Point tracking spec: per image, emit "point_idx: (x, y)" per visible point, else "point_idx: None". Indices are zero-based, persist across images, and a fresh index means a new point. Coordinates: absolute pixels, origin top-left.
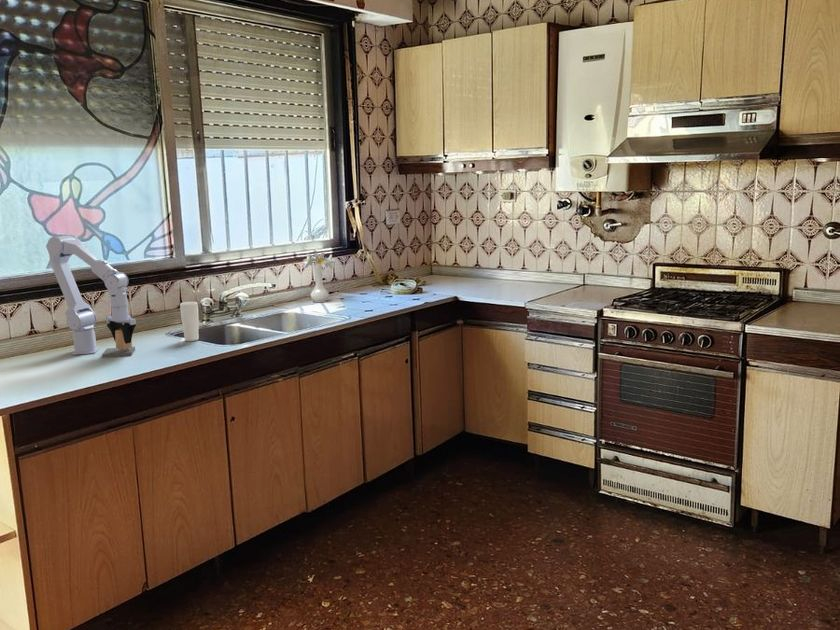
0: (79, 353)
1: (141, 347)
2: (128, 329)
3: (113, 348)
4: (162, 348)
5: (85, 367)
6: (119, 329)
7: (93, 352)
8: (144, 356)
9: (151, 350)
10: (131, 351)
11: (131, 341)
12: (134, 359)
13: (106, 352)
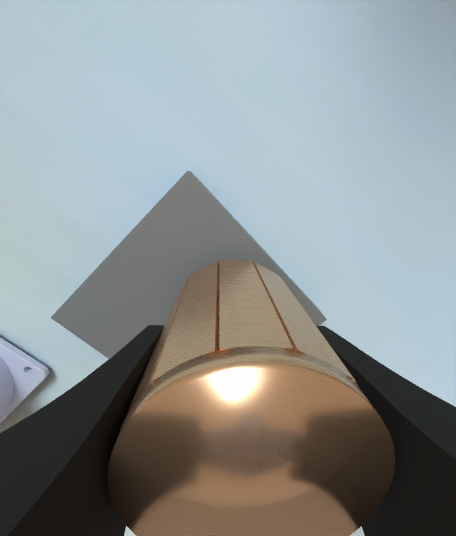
0: (2, 420)
1: (165, 78)
2: (441, 511)
3: (92, 296)
4: (394, 13)
5: None
6: (174, 497)
7: (44, 377)
8: (417, 286)
9: (345, 131)
10: (308, 301)
11: (296, 299)
12: (403, 354)
13: None
